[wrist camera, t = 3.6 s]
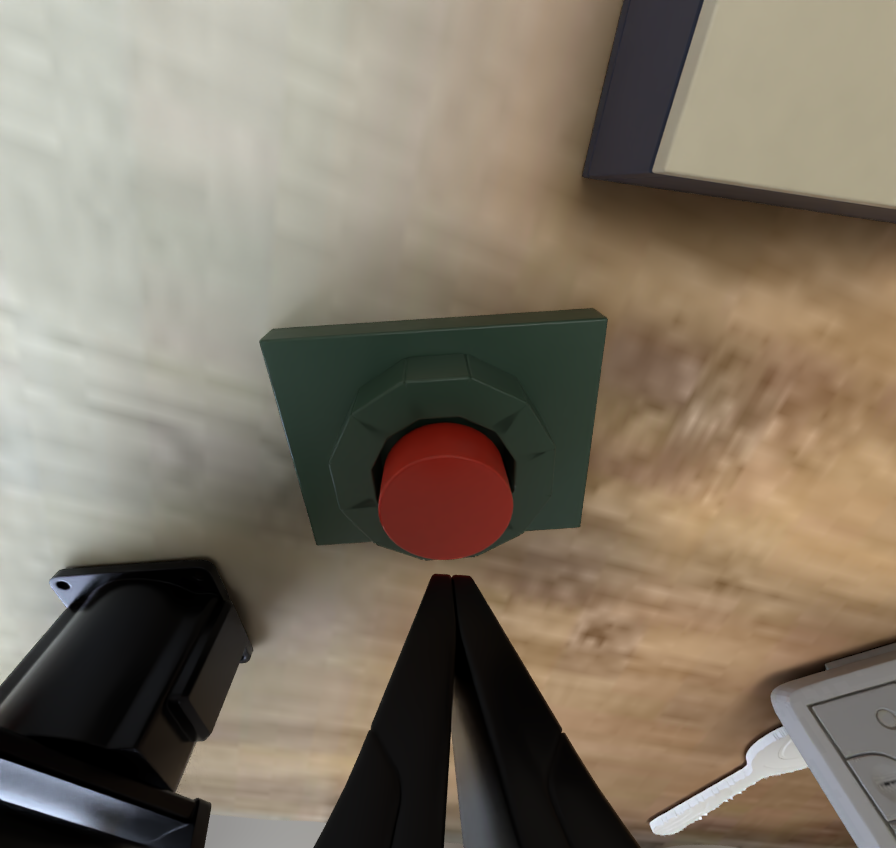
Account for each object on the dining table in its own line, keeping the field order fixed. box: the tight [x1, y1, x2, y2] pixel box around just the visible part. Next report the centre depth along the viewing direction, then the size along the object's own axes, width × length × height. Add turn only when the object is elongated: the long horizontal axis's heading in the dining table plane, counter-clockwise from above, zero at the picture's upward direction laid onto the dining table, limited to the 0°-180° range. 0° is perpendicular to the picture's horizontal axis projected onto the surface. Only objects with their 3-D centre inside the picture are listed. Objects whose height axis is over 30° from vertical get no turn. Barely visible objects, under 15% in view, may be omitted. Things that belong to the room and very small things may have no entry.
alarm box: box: [260, 308, 608, 560], centre depth 14 cm, size 10×8×3 cm
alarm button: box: [378, 422, 513, 560], centre depth 12 cm, size 4×4×2 cm
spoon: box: [650, 726, 808, 836], centre depth 29 cm, size 5×18×1 cm, turn 154°
